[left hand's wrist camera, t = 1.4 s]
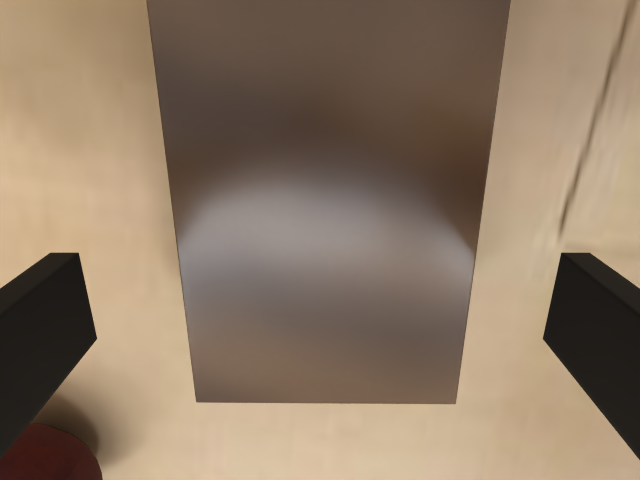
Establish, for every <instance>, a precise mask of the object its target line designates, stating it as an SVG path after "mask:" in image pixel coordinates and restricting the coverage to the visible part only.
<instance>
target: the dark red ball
mask: <svg viewBox="0 0 640 480" xmlns="http://www.w3.org/2000/svg"><path fill="white" fill-rule="evenodd" d="M0 480H103V479H102V472H101V469H100V466H99V464H98V461H97V459H96V458H95V456H94V455H93V453H92V452H91V451H90V449H89V448H88V447H87V445H86V444H84V443H83V442H82V441H80V440H79V439H78V438H76V437H75V436H74V435H72V434H69V433H66V432H63V431H61V430H58V429H56V428H53V427H51V426H48V425H46V424H30V423H29V425H28V426H27V427H26V428H25V430H24V431H23V432H22V433H21V435H20V436H19V437H18V438H17V440H16V441H15V442H14V443H13V445H12V446H11V447H10V448H9V450H8V451H7V452H6V453H5V455H4V456H3V457H2V458H1V460H0Z"/></svg>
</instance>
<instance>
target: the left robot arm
mask: <svg viewBox="0 0 640 480" xmlns="http://www.w3.org/2000/svg"><path fill="white" fill-rule="evenodd" d="M96 340H97V336H96V331H95V327H94V322H93V318H92V313H91V308H90V304H89V299H88V294H87V290H86V285H85V280H84V276H83V271H82V266H81V262H80V257H79V253H49V254H48V255H47V256H45V257H44V258H42V259H41V260H40V261H38V262H37V263H35V264H34V265H33V266H31V267H30V268H28V269H27V270H26V271H24V272H23V273H21V274H20V275H19V276H17V277H16V278H14V279H13V280H12V281H10V282H9V283H8V284H6V285H5V286H3V287H2V288H1V289H0V460H1V458H2V457H3V456H4V455H5V453H6V452H7V451H8V450H9V448H10V447H11V446H12V445H13V443H14V442H15V441H16V440H17V438H18V437H19V436H20V435H21V433H22V432H23V431H24V430H25V428H26V427H27V426H28V425H29V423H30V422H31V421H32V420H33V418H34V417H35V416H36V415H37V413H38V412H39V411H40V410H41V408H42V407H43V406H44V405H45V403H46V402H47V401H48V400H49V398H50V397H51V396H52V395H53V393H54V392H55V391H56V390H57V388H58V387H59V386H60V385H61V383H62V382H63V381H64V380H65V378H66V377H67V376H68V375H69V373H70V372H71V371H72V370H73V368H74V367H75V366H76V365H77V363H78V362H79V361H80V360H81V358H82V357H83V356H84V355H85V353H86V352H87V351H88V350H89V348H90V347H91V346H92V345H93V343H94V342H95V341H96ZM543 340H544V341H545V342H546V343H547V345H548V346H549V347H550V348H551V350H552V351H553V352H554V353H555V355H556V356H557V357H558V358H559V360H560V361H561V362H562V363H563V365H564V366H565V367H566V368H567V370H568V371H569V372H570V373H571V375H572V376H573V377H574V378H575V380H576V381H577V382H578V383H579V385H580V386H581V387H582V388H583V390H584V391H585V392H586V393H587V395H588V396H589V397H590V398H591V400H592V401H593V402H594V403H595V405H596V406H597V407H598V408H599V410H600V411H601V412H602V413H603V415H604V416H605V417H606V418H607V420H608V421H609V422H610V423H611V425H612V426H613V427H614V428H615V430H616V431H617V432H618V433H619V435H620V436H621V437H622V438H623V440H624V441H625V442H626V443H627V445H628V446H629V447H630V448H631V450H632V451H633V452H634V453H635V455H636V456H637V457H638V458H639V460H640V289H639V288H638V287H637V286H635V285H634V284H632V283H631V282H630V281H628V280H627V279H626V278H624V277H623V276H621V275H620V274H619V273H617V272H616V271H614V270H613V269H612V268H610V267H609V266H607V265H606V264H605V263H603V262H602V261H600V260H599V259H598V258H596V257H595V256H593V255H592V254H591V253H561V257H560V262H559V266H558V271H557V276H556V280H555V285H554V290H553V294H552V299H551V304H550V308H549V313H548V318H547V322H546V327H545V331H544V336H543Z"/></svg>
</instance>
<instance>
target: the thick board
mask: <svg viewBox="0 0 640 480" xmlns="http://www.w3.org/2000/svg"><path fill="white" fill-rule="evenodd" d="M510 1H511V0H147V8H148V16H149V24H150V32H151V41H152V49H153V57H154V65H155V73H156V81H157V89H158V97H159V105H160V113H161V121H162V129H163V137H164V146H165V154H166V162H167V170H168V178H169V186H170V194H171V202H172V210H173V218H174V226H175V234H176V242H177V251H178V259H179V267H180V275H181V283H182V291H183V299H184V307H185V315H186V323H187V331H188V339H189V347H190V356H191V364H192V372H193V380H194V388H195V396H196V402H215V403H363V404H456V398H457V391H458V383H459V376H460V369H461V361H462V354H463V347H464V339H465V332H466V324H467V317H468V310H469V302H470V295H471V288H472V280H473V273H474V266H475V258H476V251H477V244H478V236H479V229H480V222H481V214H482V207H483V200H484V192H485V185H486V177H487V170H488V163H489V155H490V148H491V141H492V133H493V126H494V119H495V111H496V104H497V97H498V89H499V82H500V75H501V67H502V60H503V53H504V45H505V38H506V30H507V23H508V16H509V8H510Z"/></svg>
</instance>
